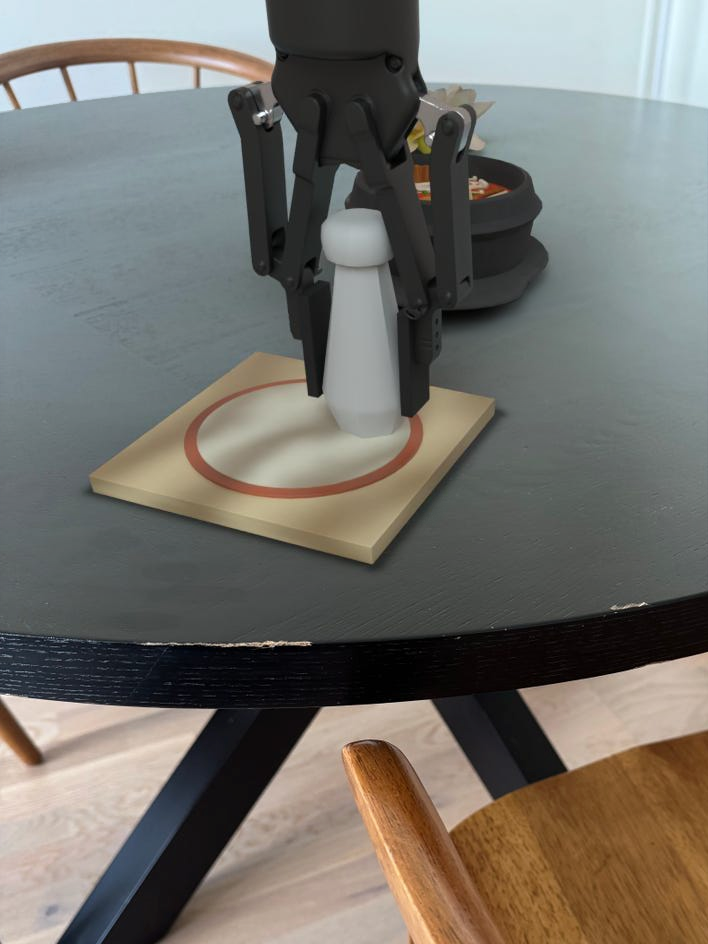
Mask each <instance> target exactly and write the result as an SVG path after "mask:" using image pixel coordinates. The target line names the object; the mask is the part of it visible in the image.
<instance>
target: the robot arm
mask: <svg viewBox="0 0 708 944" xmlns="http://www.w3.org/2000/svg"><path fill="white" fill-rule="evenodd" d="M264 1H265V12H266V19H267V20H266V21H267V28H268V38H269V40H270V43H271V45H273V48H274V50H275V63H274V67H273V70H272V72H271V76H270V80H269V81H268V80H267V81H266V82H264V81H261V80H255V81H253V82H250V83H246V84H245V85H242V86H239V87H236V88H233V89H232V90H230V91H229V92H228V94H227V103H228V108H229V110H230V113H231V115H232V118H233V122H234V124H235V126H236V129H237V132H238V135H239V138H240V147H241V159H242V169H243V181H244V192H245V203H246V212H247V214H246V215H247V224H248V226H247V227H248V236H249V246H250V247H249V248H250V258H251V266H252V269H253V271H254V273H256V275H258V276H260V277H267V276H269V277H271V278H272V279H274V280H276V281H278V282H279V283H280V286H281V287H282V288H283V290H284V292H285V299H286V306H287V307H286V309H287V314H288V321H289V323H288V324H289V332H290V335H292V337H293V340H296V341H301V346H302V356H303V361H304V365H305V374H306V383H307V392H308V396H311V397H315V398H319V397H320V396H321V395H322V394H324V393H323V389H322V386H323V377H324V368H325V358H326V349H327V340H328V331H329V322H330V313H331V304H332V292H331V282H330V281H327V280H322V279H318V280H316V281H315V278H316V277H317V276H319V275H320V274H321V273H322V272H323V270H324V268H323V267H320V266H319V265H320V260H321V255H322V251H323V249H322V243H321V225H322V224H323V222H324V221H325V220H326V219H327V218H328V217H329V212H330V211H329V210H330V205H331V200H332V194H333V189H334V184H335V178H336V174H337V172H338V170H339V168H340V166H341V165H347V166H348V167H351V168H353V169H355V170H357V171H360V170H363V172H364V175H365V179H366V182H367V185H368V187H369V189H370V190H371V191H372V192H374V193H375V195H376V198H377V202H378V205H379V208H380V211H381V215H382V218H383V221H384V225H385V228H386V231H387V235H388V238H389V241H390V244H391V248H392V251H393V254H394V258H395V261H396V264H397V268H398V271H399V274H400V278H401V281H402V284H403V287H404V291H405V294H406V297H407V301H408V304H407V305H406V306H405V307H402V308H401V309H400V310H398V311H399V312H398V313H397V331H398V355H399V379H400V402H401V416H405V417H410V418H413V416H414V415H415V414H416V413H417V412H418V411H419V410H420V409H421V408H422V407H423V406H424V405H425V404H426V403H427V402H428V401H429V400H430V387H429V386H430V366H431V364H432V363H434V361H435V360H436V359H438V358H439V356H440V355H441V352H442V349H443V347H442V346H443V338H442V337H443V336H442V335H443V334H442V332H443V328H442V326H443V325H442V324H443V323H442V322H443V321H442V319H443V318H442V311H443V310H442V308H447V309H451V308H453V307H455V306H456V305H457V304H458V303H459V302H460V301H461V300H462V299H463V298H464V297H465V296H466V295H467V294H469V293H470V292H471V290H472V288H473V271H472V247H471V223H470V200H469V176H468V155H469V150H470V148H469V147H470V144H471V140H472V136H473V134H474V133H475V129H476V125H477V120H478V119H477V115H476V112H475V110H474V108H473V107H472V106H470V105H468V104H463V105H460V106H458V107H453V106H451V105H449V104H447V103H445V102H443V101H441V100H439V99H437V98H435V97H433V96H430V95H428V91H427V90H428V86H427V83H426V82H425V80H424V77H423V74H422V73H421V72H422V71H421V68H420V64H419V63H420V62H419V51H420V42H421V41H420V39H421V33H420V29H421V28H420V27H421V26H420V0H264ZM283 115H285V116H286V118H287V119H288V121H289V123H290V124H291V126H292V127H293V129H294V130H295V132H296V134H297V135H296V139H295V147H294V153H293V154H294V155H293V160H292V168H291V169H292V170H291V171H292V173H293V174H294V182H293V190H292V195H291V201H290V207H289V208H290V209H289V211H288V198H287V197H288V196H287V182H286V165H285V164H286V163H285V149H284V148H285V147H284V137H283V130H282V125H281V124H282V123H281V122H282V119H283ZM418 120H419V121H420V122H421V123H422V125H423V127H424V143H425V145H426V146H427V147H429V148H431V152H430V159H429V180H430V195H431V210H432V225H433V240H434V251H433V247H432V243H431V240H430V236H429V233H428V229H427V225H426V222H425V218H424V215H423V211H422V208H421V204H420V200H419V197H418V193H417V190H416V186H415V182H414V178H413V174H414V163H413V159H412V156H411V155H412V152H410V148H409V145H408V141H407V138H408V136H409V135H410V133H411V131H412V130H413V128H414V127H415V125H416V123H417V122H418ZM387 163H388V165H387Z"/></svg>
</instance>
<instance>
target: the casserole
mask: <svg viewBox="0 0 708 944" xmlns="http://www.w3.org/2000/svg"><path fill="white" fill-rule="evenodd" d="M411 156H412V159H413V163H414V174H413V178H414V182H415V186H416V190H417V193H418V197H419V200H420V204H421V208H422V211H423V215H424V218H425V222H426V225H427V229H428V233H429V236H430V240H431V243H432V247H433V251H434V240H433V225H432V210H431V195H430V180H429V159H430V153H427V154H423V153H417V154H416V153H415V154H411ZM387 165H388V163H387ZM468 176H469V200H470V223H471V247H472V271H473V288H472V290H471V292H470V293H469V294H467V295H466V296H465V297H464V298H463V299H462V300H461V301H460V302H459V303H458V304H457V305H456V306H455V307H453V308H451V309H447V308H442V310H441V311H447V312H449V311H468V310H469V311H470V310H471V311H472V310H479V309H486V308H494V307H498V306H503V305H506V304H510V303H511V302H513V301H515V300H517V299H519V298H521V296H522V295H523V294H524V292H525V290H526V289H527V286H528V285H529V283H530V281H532V280H533V279H534V278H535V277H536V276H538V274H540V273H541V272H542V271H543V270H544V269H546V267H547V265H548V263H549V260H550V259H549V252H548V250H547V248H546V247H545V246H544V244H543V242H541V241H540V240H539V239H538V238H536V237H535V236H533V235H531V234H532V230H533V226H534V221H535V220H536V219H537V217H538V216H539V215H540V213H541V212H542V210H543V201H542V199H541V198H540V196H539V195H538V194H537V193H536V190H535V186H534V181H533V178H532V176H531V174H530V173H529V172H528V171H526V169H524V168H522V167H521V166H518V165H517V164H514V163H513V162H509V161H506V160H501V159H498V158H493V157H489V156H482V155H477V154H468ZM344 208H345V209H344V210H347V209H355V208H365V209H371V210H378V211H380V208H379V205H378V202H377V198H376V195H375V193H374V192H372V191H371V190H370V189H369V187H368V185H367V182H366V179H365V175H364V172H363V170H358V172H356V174H355V177H354V181H353V184H352V189H351V192H350V193H349V194H348V195H347V196H346V198H345V200H344ZM380 212H381V211H380ZM388 265H389V269H390V274H391V279H392V283H393V288H394V293H395V297H396V302H397V307H401V308H404V307H405V306H406V305H407V304H408V301H407V297H406V294H405V291H404V287H403V284H402V281H401V278H400V274H399V271H398V268H397V264H396V261H395V258H394V257H393V258H392V259H391V260H389V261H388Z"/></svg>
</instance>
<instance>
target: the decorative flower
mask: <svg viewBox="0 0 708 944" xmlns="http://www.w3.org/2000/svg"><path fill="white" fill-rule="evenodd" d="M427 91H428V95H430V96H433V97H435V98H437V99H439V100H441V101H443V102H445V103H447V104H449V105H451V106H453V107H458V106H460V105H463V104H468V105H470V106H472V107H473V108H474V110H475V112H476V115H477V120H478V119H480V118H481V117H482V116H483V115H484V114H486V112H487V111H488V110H489V109H491V107H493V105H494V104H496V103H497V101H496V100H495V101H494V100H492V101H479V102H475V101H476V99H477V91H476V90H475V89H473V88H462V86H461V85H458V84H454V85H452V86H450V87H449V88H447V89H446V88H445V87H441V88H437V89H434V90H433V91H432V90H430V89H427ZM407 141H408V145H409V148H410V152H411V153H413V152H415V151H416V150H418V151H419V152H420V153H421V154H427V153H430V152H431V148H429V147H427V146H426V145H425V143H424V127H423V125H422V123H421V122H420V121H419V120H418V122H417V123H416V125H415V127H414V128H413V130H412V131H411V133H410V135H409V136H408V138H407ZM485 146H486V143H485V142H484V141H483V140H482V139H481V138H480V137H479V136H477V135H476V134H475V133H473V136H472V140H471V144H470V147H469V150H474V151H482V150H483V148H484V147H485Z"/></svg>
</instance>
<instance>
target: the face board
mask: <svg viewBox="0 0 708 944" xmlns="http://www.w3.org/2000/svg"><path fill="white" fill-rule="evenodd" d="M429 387H430V400H429V401H428V402H427V403H426V404H425V405H424V406H423V407H422V408H421V409H420V410H419V411H418V412H417V413H416V414H415V415H414V416H413V418H410V417H405V419H404V421H403V423H402V424H401V425H400V426H399V427H398V428H397V429H396V430H395V431H394V432H393V433H392V434H391V435H386V436H378V437H371V438H361V437H358V436H355V435H353V434H350V433H348V432H345V431H343V430H341V428H340V427H339V425H338V423H337V421H336V420H335V418H334V416H333V414H332V413H331V411H330V409H329V407H328V406H327V403H326V400H325V397H324V394H322V395H321V396H320V397H319V398H315V397H311V396H308V392H307V383H306V374H305V365H304V359H303V360H302V359H299V358H294V357H287V356H282V355H278V354H273V353H267V352H262V351H258V350H257V351H255V352H254V353H252V354H251V355H249V356H248V357H247V358H245V359H244V360H243V361H241V362H240V363H239V364H237V365H236V366H234V367H233V368H231V370H230V371H228V372H227V373H225V374H224V375H223V376H221V377H220V378H218V379H217V380H216V381H214V382H213V383H212V384H210V385H209V386H207V387H206V388H205V389H204V390H202V391H201V392H200V393H198V394H197V395H195V396H194V397H193V398H191V399H190V400H189V401H187V402H186V403H184V404H183V405H182V406H181V407H180V408H178V409H176V410H175V411H174V412H173V413H171V414H169V416H167V417H166V418H164V419H163V420H162V421H160V422H159V423H157V424H156V425H155V426H154V427H152V428H151V429H150V430H148V431H147V432H145V433H144V434H143V435H141V436H140V437H138V438H137V439H136V440H135V441H133V442H131V444H129V445H128V446H126V447H125V448H124V449H122V450H121V451H120V452H118V453H117V454H116V455H114V456H113V457H111V458H110V459H109V460H108V461H106V462H104V464H102V465H101V466H100V467H98V468H96V470H93V472H91V473H90V474H88V478H89V482H90V485H91V489H92V492H93V493H94V494H95V493H96V494H99V495H104V496H107V497H111V498H115V499H118V500H119V499H120V500H123V501H126V502H130V503H134V504H137V505H141V506H145V507H149V508H154V509H157V510H161V511H165V512H169V513H173V514H176V515H181V516H184V517H188V518H191V519H195V520H200V521H203V522H207V523H211V524H214V525H218V526H223V527H226V528H229V529H230V528H231V529H235V530H237V531H242V532H246V533H249V534H254V535H257V536H260V537H265V538H268V539H273V540H277V541H281V542H284V543H287V544H292V545H297V546H299V547H304V548H306V549H307V548H308V549H311V550H315V551H319V552H323V553H327V554H331V555H335V556H339V557H341V558H345V559H350V560H353V561H357V562H362V563H365V564H368V565H374V563H375V562H376V561H377V560H378V559H379V557H380V556H382V554H383V552H384V551H385V550H386V549H387V548H388V546H389V545H390V544H391V543H392V541H393V540H394V539H395V538H396V537H397V535H398V534H399V533H400V531H401V530H402V529H403V528H404V526H405V525H406V524H407V523H408V522H409V520H410V519H411V518H412V517H413V516H414V514H415V513H416V512H417V511H418V509H419V508H420V507H421V506H422V505H423V503H424V502H425V501H426V499H427V498H428V497H429V495H431V493H432V492H433V491H434V490H435V489H436V487H437V486H438V485H439V483H440V482H441V481H442V480H443V478H444V477H445V476H446V475H447V474H448V472H449V471H450V470H451V469H452V467H453V466H455V464H456V463H457V461H458V460H459V459H460V457H461V456H462V455H463V454H464V453H465V451H466V450H467V449H468V448H469V446H470V445H471V444H472V443H473V442H474V441H475V439H476V438H477V437H478V436H479V434H480V433H481V432H482V430H484V428H485V427H486V426H487V424H488V423H489V422H490V421H491V419H493V417H494V416H495V413H496V398H493V397H488V396H484V395H479V394H473V393H468V392H463V391H458V390H453V389H447V388H443V387H438V386H431V385H429Z"/></svg>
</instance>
